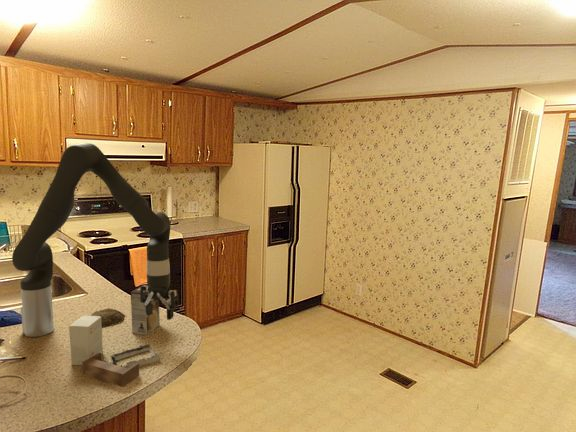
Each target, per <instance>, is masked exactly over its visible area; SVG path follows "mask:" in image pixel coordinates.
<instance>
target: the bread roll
mask: <svg viewBox="0 0 576 432" xmlns="http://www.w3.org/2000/svg"><path fill="white" fill-rule="evenodd" d="M89 316H101V323H102V326H103V327H109V326H108V325H110V326H112V324H113V325H116V323H117V324H119V322H120V323H122V322H123V320H124V318H125V316H126V314H124V313H123V312H121V311H120V310H117V309H112V308H104V309H100V310H96V311H94V312H93V313H92V314H90V315H89ZM121 321H122V322H121Z"/></svg>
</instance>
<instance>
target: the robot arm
mask: <svg viewBox="0 0 576 432" xmlns="http://www.w3.org/2000/svg"><path fill="white" fill-rule="evenodd" d="M57 166H58V167H57V169H56V173H55V175H54V177H53V179H52V182H51V183H50V185H49V187H48V189H47V191H46V193H45V195H44V197H43V199H42V200H41V202H40V204H39V207H38V209H37V212H36V213H35V215H34V217H33V219H32V220H31V223H30V225H29V226H28V228H27V230H26V232H24V235H23V236H22V237H21V239H20V240H19V241H18V243H17V245H16V247H15V248H14V250H13V253H12V256H11V260H12V265H13V266H14V268H15V269H17V270H18V271H20V272H27V271H29V272H28V274H27V275H26V276H24V277H23V278H22V279H21V281H20V293H21V294H20V295H21V296H20V297H21V308H20V313H21V314H20V315H21V328H22V329H21V330H22V333H23V334H24V336H25V337H28V338H37V337H42V336H46V335H48V334H51V333H52V332H53V331H54V330H55V322H54V310H53V309H54V308H53V306H54V305H53V294H52V293H53V292H52V279H53V276H54V270H53V269H54V258H53V257H54V256H53V251H52V248H51V246H50V245H49V243H47V241H48V240H49V239H50V238H51V237H52V236H53V235H55V233H56V232H58V231H59V230H60V229H61V228H62V227H63V226H64V224H65V223H66V222H67V220H68V218H69V217H70V215H71V213H72V212H73V209H74V206H75V191H76V188H77V186H78V184H79V182H80V180H81V179H82V178H83V176H84V175H85V174H86V173H88V172H92V173H93V174H94V175H96V176H97V177H98V178H99V179H101V180H102V181H103V183H104V184H105V185H106V187H107V189H108V190H109V192H110V194H111V196H112V198H113V199H114V200H115V202H116V203H117V204H118V205H119V206H120V207H122V209H123V210H125V212H127V213H128V214H129V215H130V216H132V218H133V220H134V221H135V223H136V224H137V226H138V227H140V229H141V230H142V231H143V232H144V233H145V234H147V235H149V241H148V243H147V244H146V284H145V285H144V284H143V285H144V286H142V285H140V286H141V291H140V302H141V303H145V305H146V313H147V315H148V316H149V315H151V314H152V313H153V308H152V304H151V303H152V302H153V300H155V301H159V303H160V302H161V303H162V305H164V306H165V308H166V319H167V321H170V320H172V319H173V318H174V314H175V313H174V309H175V308H178V307H179V305H180V304H179V293H178V289H174V290H171V289H170V284H171V270H170V269H171V267H170V266H171V265H170V263H171V262H170V257H169V256H170V255H169V253H170V252H169V251H170V250H169V242H170V236H171V235H170V234H171V221H170V218H169V216H168V215H167V214H166V213H164V212H154V211H153V209H152V208H150V205H149V204H150V203H149V202H148V200H147V199H146V198H145V197H144V196H143V195H141V193H140V192H138V191H137V190H136V189H135V188H134V187H133V186H132V185H131V183H129V182H128V181H127V180H126V179H125V178H124V177H123V175H121V173H120V172H119V171H118V169H116V167H115V166H114V165H113V164H112V162H111V161H110V160H109V159H108V157H107V156H106V155H105V154H104V153H103V151H102V150H101V149H100V148H99V147H98V146H97V145H96V144H93V143H91V142H84V143H83V142H82V143H76V144H70V146H68V147H66V149H65V150H64V151H63V153H62V155H61V157H60V161H59V163H58V165H57ZM148 292H149V294H150V295H149V296H148Z"/></svg>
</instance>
